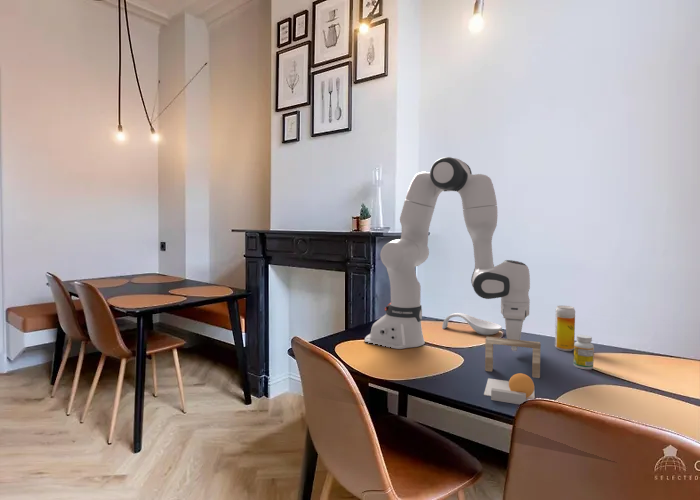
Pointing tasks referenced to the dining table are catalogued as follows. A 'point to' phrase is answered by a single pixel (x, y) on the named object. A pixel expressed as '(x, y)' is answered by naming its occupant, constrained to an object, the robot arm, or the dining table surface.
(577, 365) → the supplement bottle
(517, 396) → the block
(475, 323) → the spoon rest
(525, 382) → the ball
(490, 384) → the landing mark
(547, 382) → the dining table surface
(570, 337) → the orange yellow canister
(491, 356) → the bridge
